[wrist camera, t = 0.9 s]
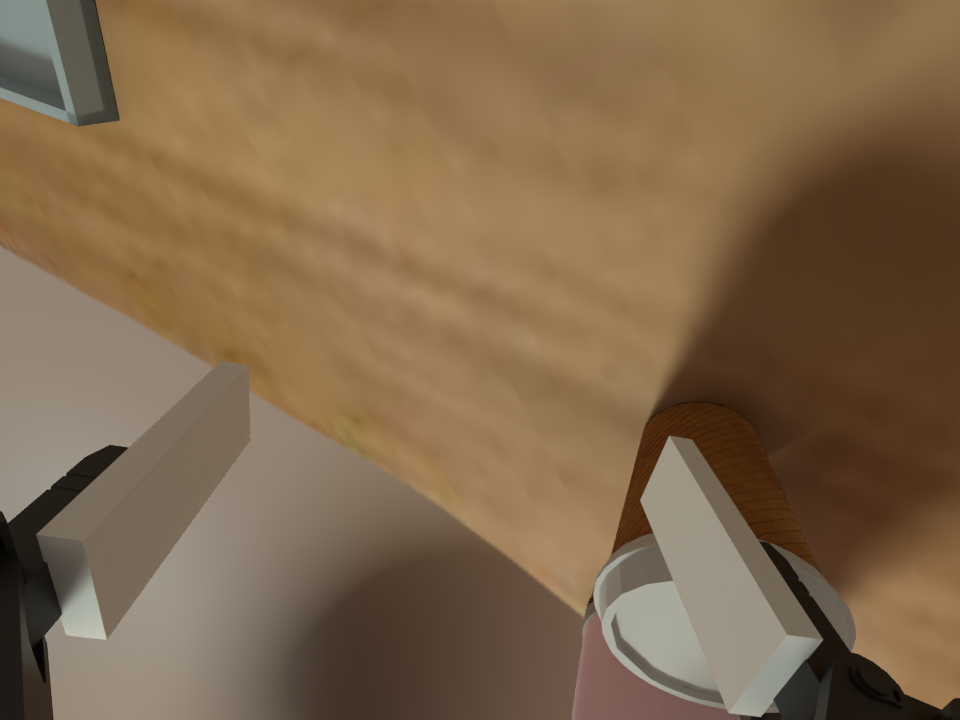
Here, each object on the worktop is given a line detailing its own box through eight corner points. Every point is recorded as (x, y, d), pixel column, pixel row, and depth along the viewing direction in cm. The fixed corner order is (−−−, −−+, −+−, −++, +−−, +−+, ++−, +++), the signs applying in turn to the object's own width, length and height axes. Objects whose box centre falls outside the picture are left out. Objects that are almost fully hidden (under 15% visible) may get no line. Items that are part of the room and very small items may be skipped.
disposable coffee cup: (603, 382, 28) (571, 559, 18) (796, 372, 24) (882, 588, 15) (624, 499, 32) (607, 692, 23) (791, 506, 28) (854, 741, 19)
